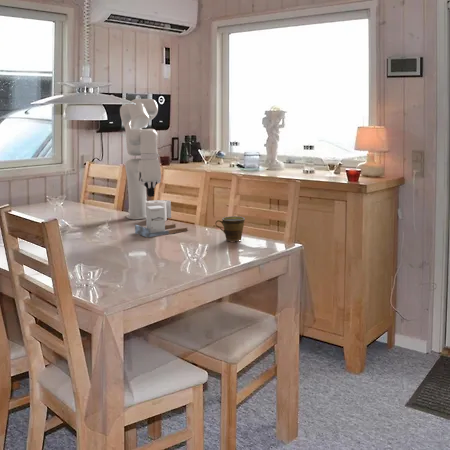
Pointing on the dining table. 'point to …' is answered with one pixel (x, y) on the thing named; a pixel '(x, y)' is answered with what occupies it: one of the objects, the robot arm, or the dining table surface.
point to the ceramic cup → (232, 227)
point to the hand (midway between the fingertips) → (150, 196)
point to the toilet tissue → (163, 203)
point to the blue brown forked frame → (145, 232)
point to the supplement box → (155, 218)
